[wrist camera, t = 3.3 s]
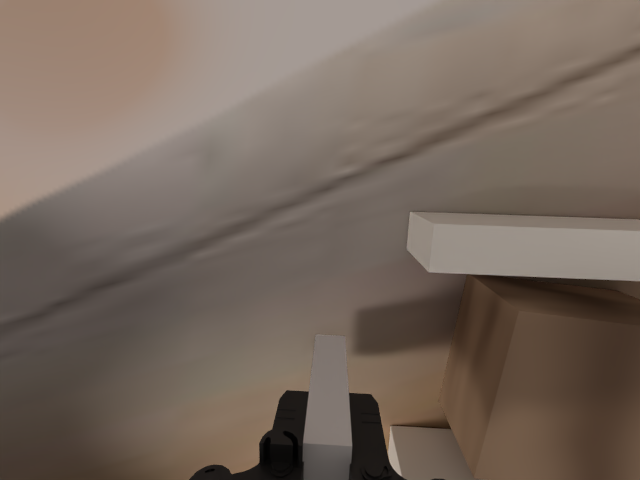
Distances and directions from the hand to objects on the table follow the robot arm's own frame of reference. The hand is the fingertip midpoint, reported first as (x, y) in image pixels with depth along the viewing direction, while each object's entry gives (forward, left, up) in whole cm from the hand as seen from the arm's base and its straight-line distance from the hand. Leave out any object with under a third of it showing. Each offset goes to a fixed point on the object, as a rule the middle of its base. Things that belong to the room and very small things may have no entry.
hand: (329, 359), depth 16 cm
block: (+11, 0, -2) cm, 11 cm away
